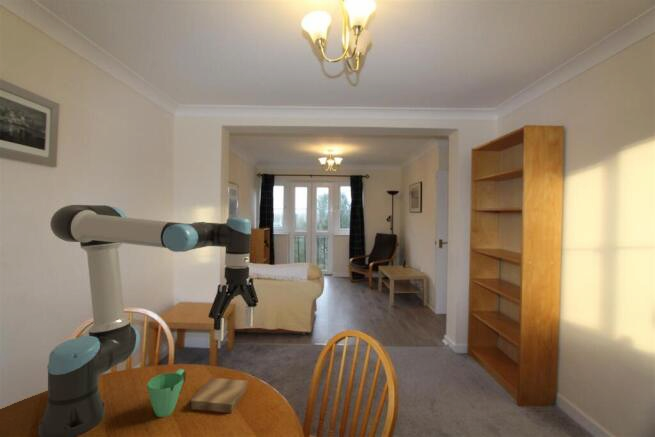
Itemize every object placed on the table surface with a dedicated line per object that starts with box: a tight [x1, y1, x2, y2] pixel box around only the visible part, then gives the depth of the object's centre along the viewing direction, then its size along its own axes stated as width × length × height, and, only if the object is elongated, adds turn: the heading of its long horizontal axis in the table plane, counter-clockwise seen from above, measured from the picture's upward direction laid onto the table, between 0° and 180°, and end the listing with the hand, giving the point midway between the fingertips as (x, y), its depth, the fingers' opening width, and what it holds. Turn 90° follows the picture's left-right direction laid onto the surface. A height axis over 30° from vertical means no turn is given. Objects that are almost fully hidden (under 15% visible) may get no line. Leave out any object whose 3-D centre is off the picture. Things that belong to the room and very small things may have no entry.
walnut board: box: [189, 377, 249, 414], centre depth 106 cm, size 14×14×3 cm
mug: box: [146, 368, 187, 418], centre depth 100 cm, size 15×10×10 cm
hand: (234, 332), depth 100 cm, fingers open, 13 cm apart
